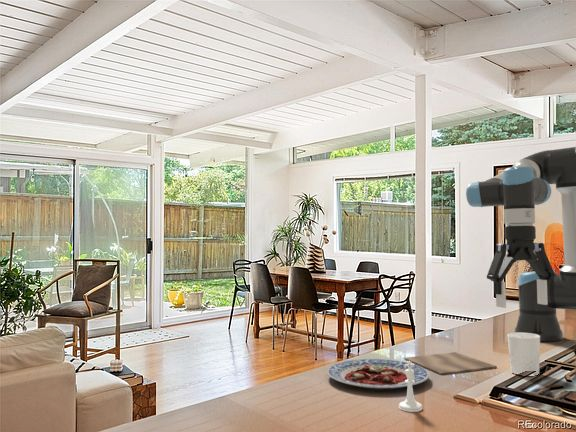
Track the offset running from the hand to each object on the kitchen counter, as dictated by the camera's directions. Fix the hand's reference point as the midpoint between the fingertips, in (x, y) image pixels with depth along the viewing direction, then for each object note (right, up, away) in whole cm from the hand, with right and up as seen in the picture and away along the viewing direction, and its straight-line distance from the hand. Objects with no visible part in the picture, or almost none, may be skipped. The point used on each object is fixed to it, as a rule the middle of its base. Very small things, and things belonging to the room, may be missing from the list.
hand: (522, 305), depth 136 cm
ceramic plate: (-39, -19, -3) cm, 43 cm away
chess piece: (-35, -18, -25) cm, 47 cm away
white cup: (0, -18, 0) cm, 18 cm away
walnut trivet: (-16, -18, +11) cm, 27 cm away
